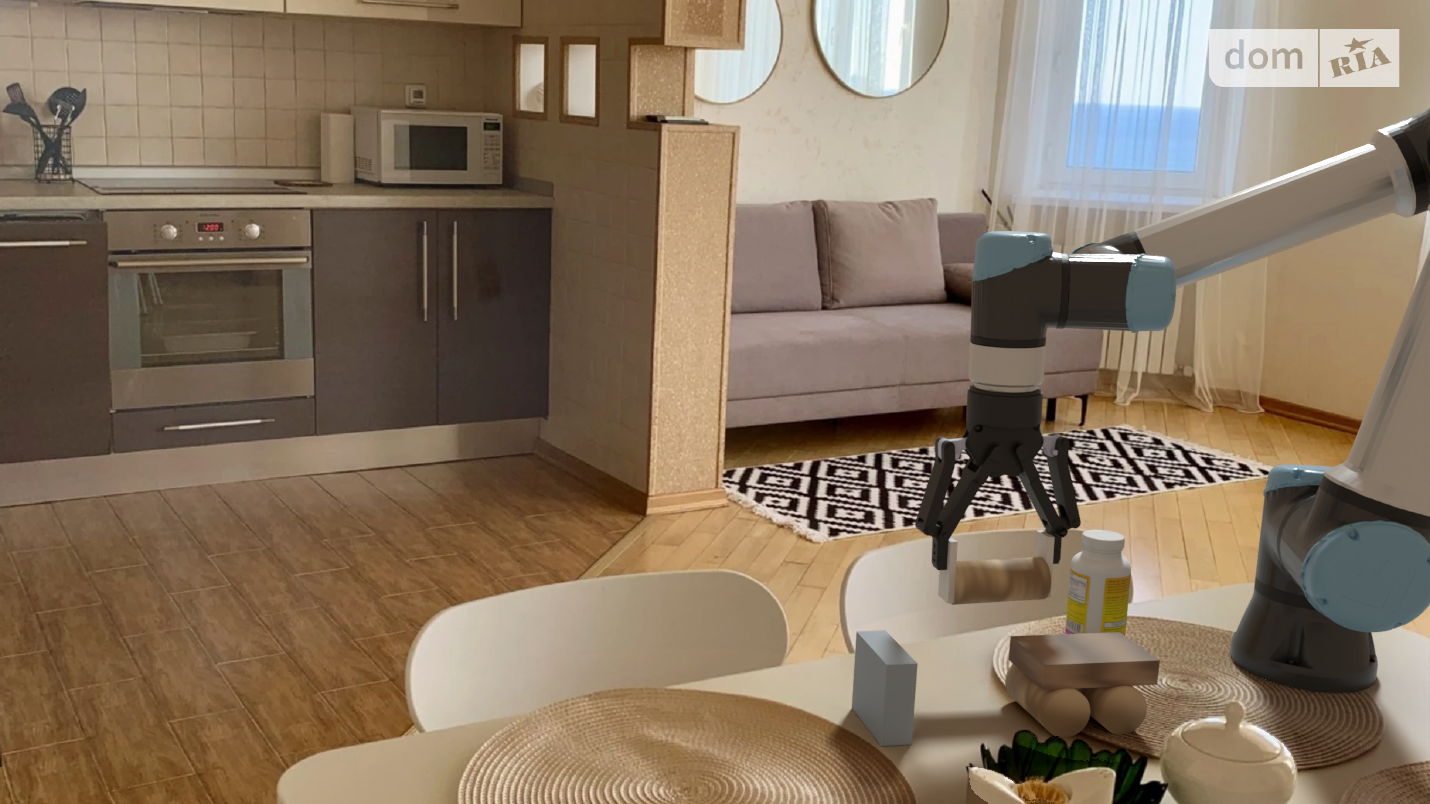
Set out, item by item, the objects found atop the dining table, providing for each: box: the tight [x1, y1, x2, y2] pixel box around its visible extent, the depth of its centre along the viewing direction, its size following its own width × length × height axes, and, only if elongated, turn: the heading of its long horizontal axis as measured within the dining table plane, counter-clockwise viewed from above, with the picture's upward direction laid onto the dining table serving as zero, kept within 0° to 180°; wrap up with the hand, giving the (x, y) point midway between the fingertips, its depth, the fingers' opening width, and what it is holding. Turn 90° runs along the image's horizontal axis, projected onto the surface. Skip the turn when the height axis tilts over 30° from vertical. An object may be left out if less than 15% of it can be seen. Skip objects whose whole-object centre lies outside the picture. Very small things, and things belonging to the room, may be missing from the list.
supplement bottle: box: [1064, 529, 1132, 637], centre depth 160 cm, size 7×7×13 cm
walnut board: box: [1008, 632, 1161, 690], centre depth 139 cm, size 12×8×2 cm, turn 102°
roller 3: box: [1075, 686, 1148, 735], centre depth 140 cm, size 9×5×5 cm, turn 12°
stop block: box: [851, 629, 918, 747], centre depth 135 cm, size 3×9×8 cm, turn 12°
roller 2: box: [1004, 663, 1091, 738], centre depth 139 cm, size 9×5×5 cm, turn 12°
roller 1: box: [949, 556, 1052, 606], centre depth 146 cm, size 10×4×4 cm, turn 102°
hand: (994, 596), depth 146 cm, fingers closed on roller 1, 10 cm apart
